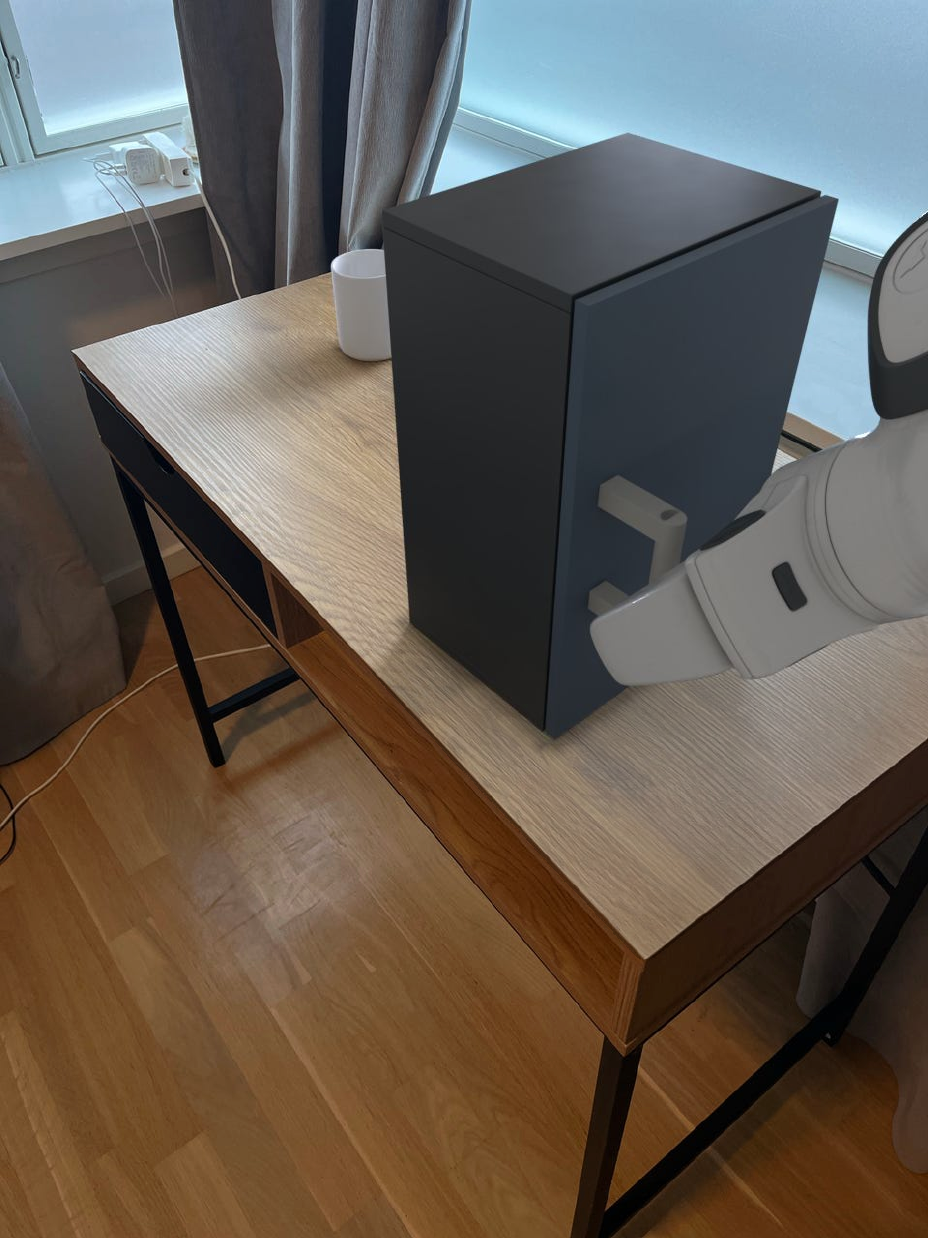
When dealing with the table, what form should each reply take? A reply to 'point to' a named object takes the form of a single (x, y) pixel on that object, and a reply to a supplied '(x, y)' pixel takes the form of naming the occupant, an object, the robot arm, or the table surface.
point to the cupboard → (522, 370)
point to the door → (672, 423)
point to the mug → (362, 304)
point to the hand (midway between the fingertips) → (662, 591)
